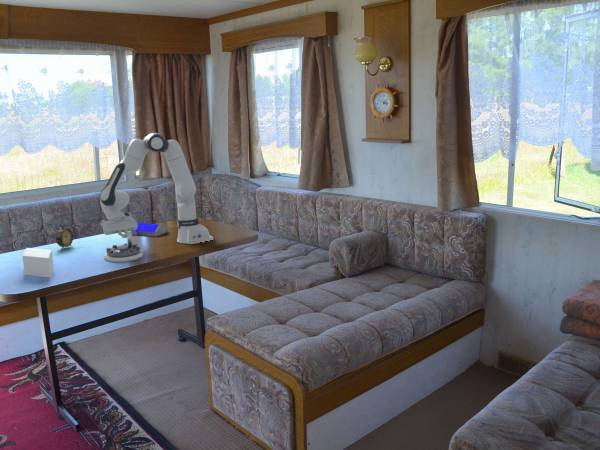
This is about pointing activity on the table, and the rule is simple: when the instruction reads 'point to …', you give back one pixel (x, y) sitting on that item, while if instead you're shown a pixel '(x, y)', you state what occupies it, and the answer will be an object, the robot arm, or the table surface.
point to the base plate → (123, 259)
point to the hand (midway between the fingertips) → (125, 237)
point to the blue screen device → (149, 229)
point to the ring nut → (129, 251)
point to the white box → (38, 262)
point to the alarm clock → (64, 237)
